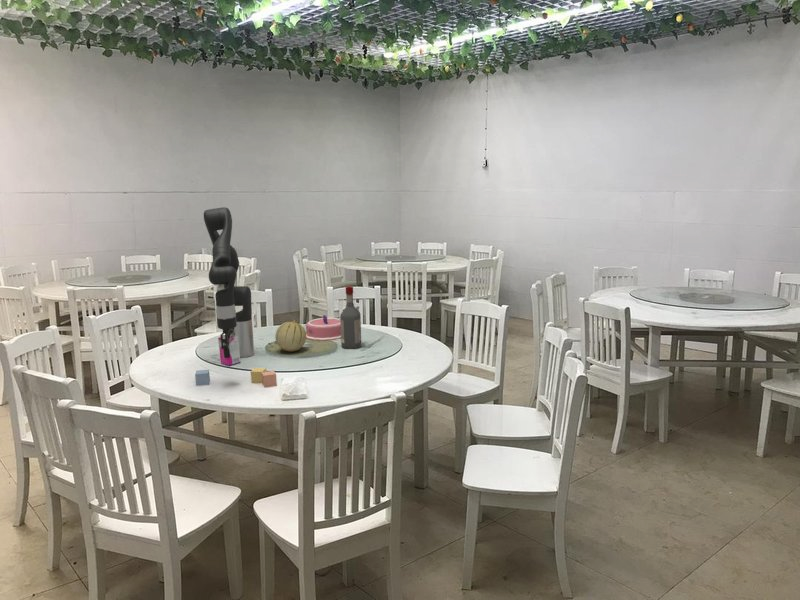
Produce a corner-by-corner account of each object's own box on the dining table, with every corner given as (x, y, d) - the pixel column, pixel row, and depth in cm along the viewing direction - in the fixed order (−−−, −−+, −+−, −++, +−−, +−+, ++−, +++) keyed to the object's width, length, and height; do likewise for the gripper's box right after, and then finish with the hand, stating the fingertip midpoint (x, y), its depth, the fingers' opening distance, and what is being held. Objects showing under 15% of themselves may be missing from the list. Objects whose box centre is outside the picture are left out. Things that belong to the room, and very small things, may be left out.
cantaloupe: (271, 354, 288) (269, 324, 285) (284, 346, 302) (282, 317, 299) (299, 355, 285) (298, 325, 282) (311, 347, 299) (310, 318, 296)
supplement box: (232, 360, 250) (229, 334, 248) (240, 363, 247) (238, 336, 244) (220, 364, 246) (217, 337, 243) (229, 366, 242) (226, 339, 240)
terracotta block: (262, 383, 247) (261, 372, 246) (274, 382, 249) (273, 370, 248) (264, 387, 242) (263, 375, 241) (276, 385, 244) (276, 373, 243)
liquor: (362, 344, 303) (360, 285, 297) (359, 349, 294) (356, 288, 288) (344, 344, 304) (341, 285, 298) (340, 349, 295) (338, 288, 289)
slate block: (197, 382, 251) (196, 370, 250) (209, 380, 252) (208, 369, 251) (196, 385, 246) (195, 374, 245) (208, 384, 247) (207, 373, 246)
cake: (299, 332, 332) (298, 313, 330) (343, 327, 339) (343, 309, 337) (307, 343, 308) (305, 322, 306) (354, 338, 316) (353, 318, 314)
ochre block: (255, 379, 253) (254, 367, 252) (266, 379, 252) (266, 367, 251) (251, 383, 248) (250, 371, 247) (263, 383, 247) (262, 371, 246)
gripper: (220, 312, 249) (224, 349, 252) (212, 320, 235) (216, 360, 238) (239, 311, 249) (242, 349, 253) (231, 319, 235) (235, 359, 239)
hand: (229, 354), depth 245 cm, fingers closed on supplement box, 8 cm apart
